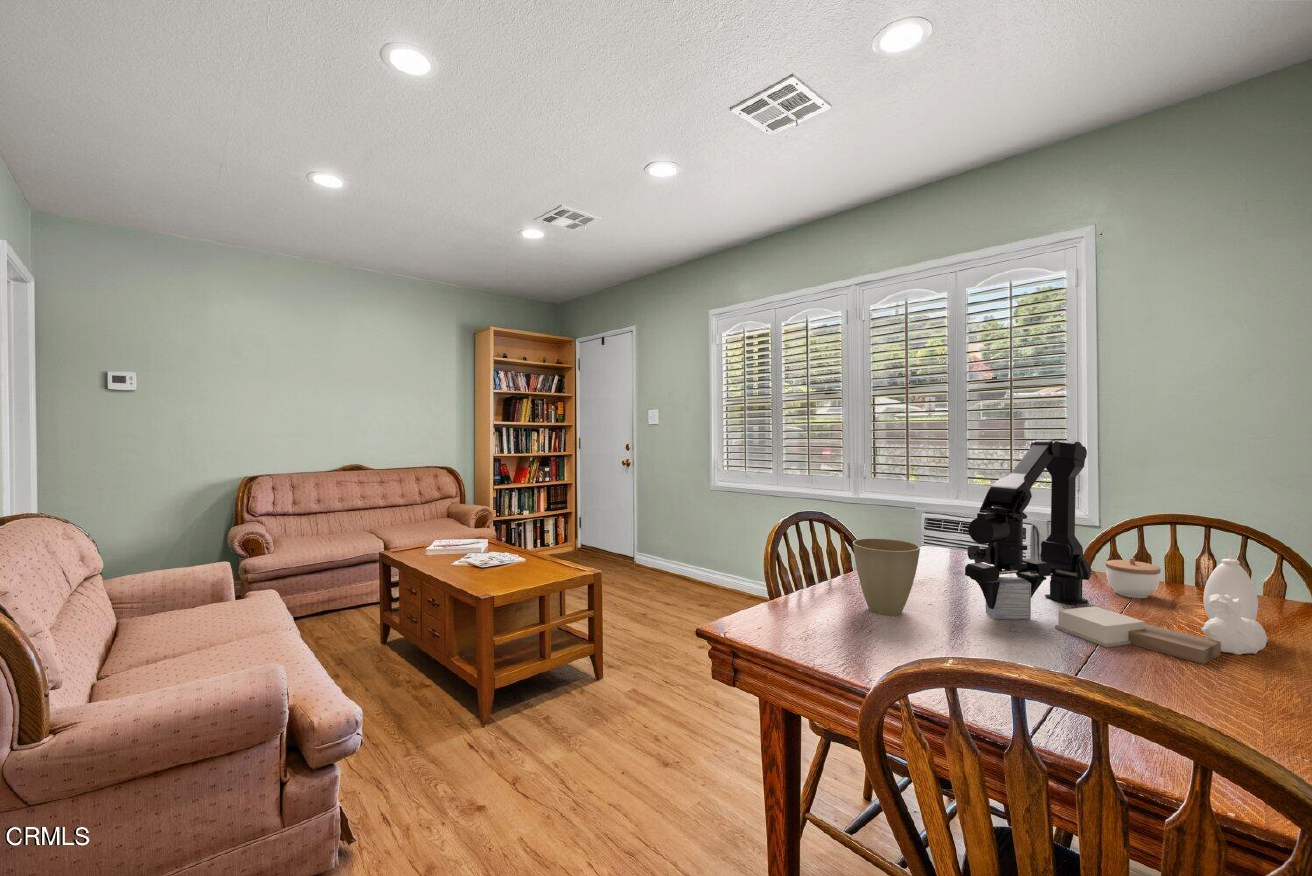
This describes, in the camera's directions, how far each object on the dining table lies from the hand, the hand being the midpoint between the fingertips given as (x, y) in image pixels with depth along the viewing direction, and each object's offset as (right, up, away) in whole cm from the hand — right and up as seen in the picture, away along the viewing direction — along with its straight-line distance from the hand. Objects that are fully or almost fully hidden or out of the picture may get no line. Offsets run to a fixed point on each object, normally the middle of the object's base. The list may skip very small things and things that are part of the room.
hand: (1007, 606), depth 128 cm
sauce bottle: (+40, -2, -11) cm, 41 cm away
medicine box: (0, -3, 0) cm, 2 cm away
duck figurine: (+31, -3, -19) cm, 37 cm away
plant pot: (-26, -3, +5) cm, 27 cm away
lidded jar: (+42, -2, +15) cm, 44 cm away
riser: (+12, -2, -11) cm, 17 cm away
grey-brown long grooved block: (+20, -2, -19) cm, 28 cm away
